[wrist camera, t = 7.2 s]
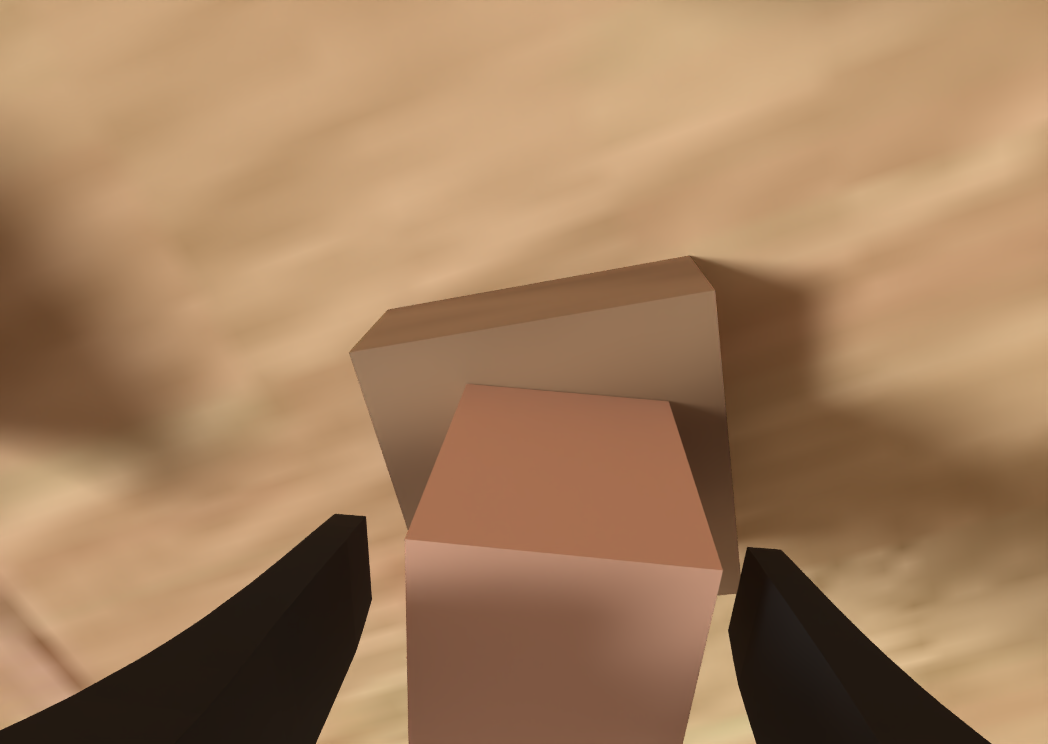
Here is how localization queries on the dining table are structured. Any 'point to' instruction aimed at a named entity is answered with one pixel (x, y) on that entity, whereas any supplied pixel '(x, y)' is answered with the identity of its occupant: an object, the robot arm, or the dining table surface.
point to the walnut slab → (558, 369)
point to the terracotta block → (557, 575)
